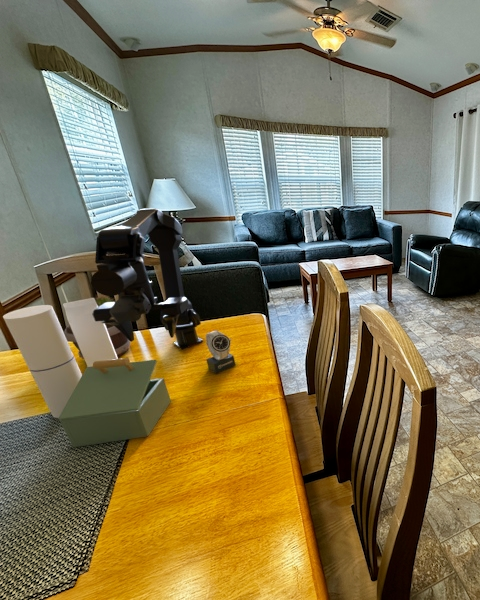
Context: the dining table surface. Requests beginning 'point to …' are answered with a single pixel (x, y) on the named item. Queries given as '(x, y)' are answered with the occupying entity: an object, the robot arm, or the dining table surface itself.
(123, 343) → the flowerpot
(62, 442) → the dining table surface
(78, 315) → the milk
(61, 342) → the cylindrical container
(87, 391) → the lid
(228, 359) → the watch
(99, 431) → the green hinged box
